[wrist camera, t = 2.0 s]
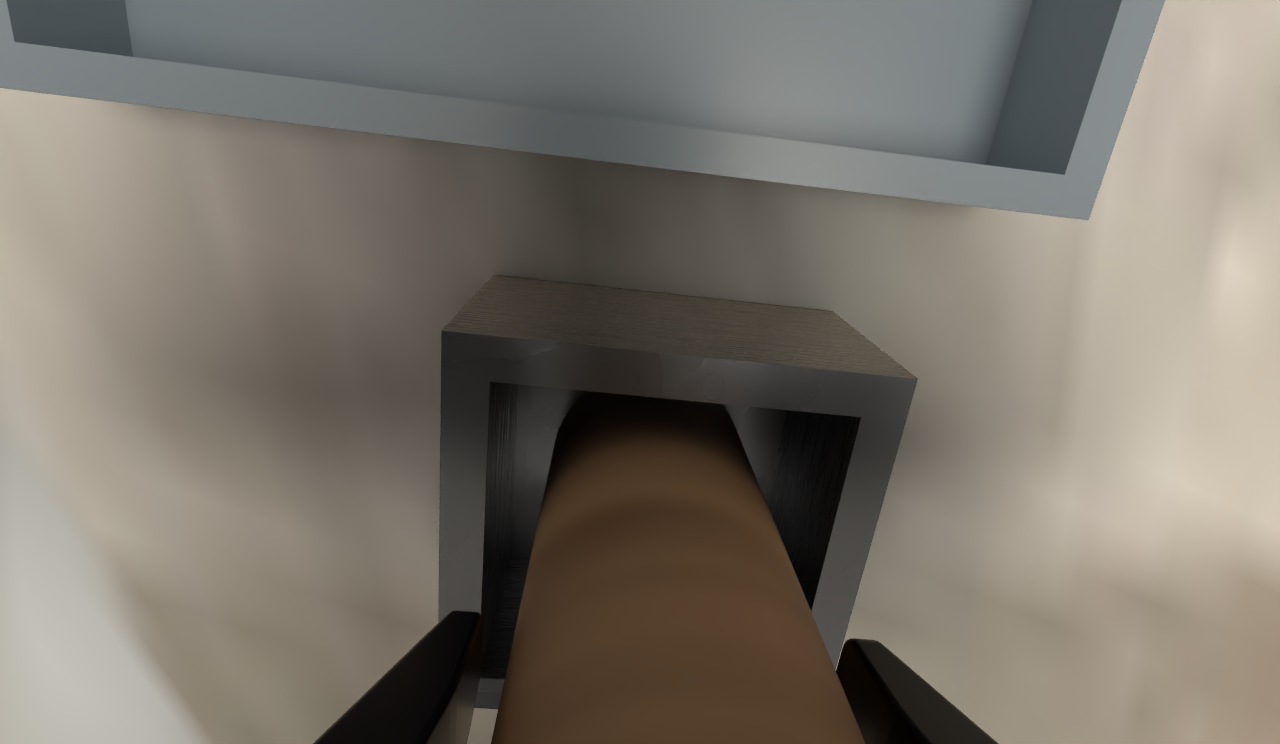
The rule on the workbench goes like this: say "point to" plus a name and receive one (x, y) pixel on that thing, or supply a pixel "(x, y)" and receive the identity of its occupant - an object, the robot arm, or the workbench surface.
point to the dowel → (663, 594)
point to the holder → (663, 368)
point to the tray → (645, 81)
